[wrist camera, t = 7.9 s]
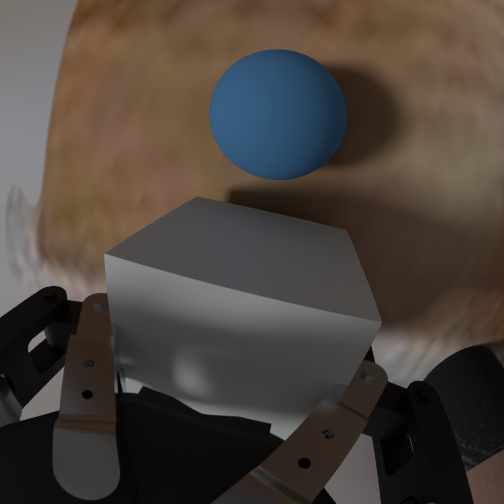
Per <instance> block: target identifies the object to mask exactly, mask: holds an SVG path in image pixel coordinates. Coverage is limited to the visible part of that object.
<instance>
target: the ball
mask: <svg viewBox="0 0 504 504" xmlns="http://www.w3.org/2000/svg"><path fill="white" fill-rule="evenodd" d="M210 124H211V129H212V132H213V135H214V138H215V140H216V142H217V144H218V145H219V147H220V149H221V150H222V151H223V153H224V154H225V155H226V156H227V157H228V158H229V159H230V160H231V161H232V162H233V163H234V164H236V165H237V166H238V167H240V168H241V169H243V170H245V171H246V172H248V173H251V174H253V175H255V176H259V177H262V178H266V179H273V180H286V179H293V178H298V177H301V176H304V175H307V174H309V173H311V172H313V171H315V170H317V169H318V168H320V167H321V166H323V165H324V164H325V163H326V162H327V161H328V160H330V158H331V157H332V156H333V155H334V154H335V153H336V151H337V149H338V148H339V146H340V144H341V142H342V140H343V138H344V134H345V131H346V126H347V107H346V101H345V98H344V95H343V92H342V90H341V88H340V86H339V84H338V83H337V81H336V79H335V78H334V77H333V76H332V74H331V73H330V72H329V71H328V70H327V69H326V68H325V67H324V66H323V65H321V64H320V63H318V62H317V61H316V60H314V59H312V58H310V57H308V56H306V55H303V54H301V53H298V52H294V51H289V50H266V51H260V52H257V53H253V54H251V55H248V56H246V57H244V58H242V59H241V60H239V61H237V62H236V63H235V64H233V65H232V66H231V67H230V68H229V69H228V70H227V71H226V72H225V73H224V74H223V76H222V77H221V78H220V80H219V81H218V83H217V85H216V87H215V89H214V92H213V95H212V98H211V103H210Z"/></svg>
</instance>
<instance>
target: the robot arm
mask: <svg viewBox="0 0 504 504" xmlns="http://www.w3.org/2000/svg"><path fill="white" fill-rule="evenodd" d="M43 330H44V332H45V335H46V339H44V340H43V341H42V342H41V343H40V344H39V345H37V346H36V347H35V348H34V349H33V350H32V351H30V352H28V345H29V342H30V341H31V340H32V339H33V338H34V337H35V336H37V335H38V334H39V333H40V332H41V331H43ZM64 366H65V367H64ZM63 367H64V374H63V381H62V390H61V399H60V410H58V411H55V412H52V413H48V414H45V415H41V416H38V417H34V418H30V419H26V420H22V421H21V420H20V417H21V414H22V409H23V408H24V406H26V404H28V403H29V401H30V400H31V399H32V398H33V397H34V396H35V395H36V394H37V393H38V392H39V391H40V390H41V389H42V388H43V387H44V386H45V385H46V384H47V383H48V382H49V381H50V380H51V379H52V378H53V377H54V376H55V375H56V374H57V373H58V372H59V371H60V370H61V369H62V368H63ZM270 430H271V423H266V422H261V421H257V420H252V419H248V418H244V417H240V416H224V415H210V414H202V413H200V412H198V411H196V410H194V409H193V408H191V407H189V406H187V405H186V404H184V403H182V402H181V401H179V400H177V399H176V398H174V397H172V396H169V395H167V394H164V393H161V392H158V391H156V390H153V389H151V388H148V387H145V386H142V388H141V389H140V391H139V393H129V392H127V389H126V376H125V371H124V369H123V368H121V364H120V358H119V333H118V325H117V324H116V323H113V322H111V320H110V313H109V304H108V295H107V293H96V294H92V295H90V296H88V297H87V298H86V299H85V300H84V301H83V302H78V301H71V300H68V299H67V294H66V291H65V290H64V289H63V288H61V287H58V286H49V287H45V288H43V289H41V290H39V291H38V292H36V293H35V294H33V295H32V296H30V297H29V298H28V299H26V300H25V301H23V302H22V303H20V304H19V305H18V306H16V307H15V308H13V309H12V310H10V311H9V312H8V313H6V314H5V315H3V316H2V317H1V318H0V504H336V503H335V501H334V500H333V499H332V497H331V496H330V495H329V494H328V492H327V491H326V490H325V488H324V486H325V485H326V484H327V482H328V481H329V480H330V478H331V477H332V476H333V474H334V473H335V472H336V470H337V469H338V468H339V466H340V465H341V463H342V462H343V461H344V459H345V458H346V456H347V455H348V453H349V452H350V450H351V449H352V447H353V445H354V444H355V443H356V441H357V439H358V438H359V436H360V435H361V433H363V434H366V435H368V436H371V437H372V440H373V446H374V452H375V459H376V466H377V474H378V481H379V489H380V498H381V504H474V502H473V497H472V493H471V489H470V485H469V482H468V478H467V474H466V471H465V467H464V464H463V461H462V458H461V454H460V451H459V448H458V445H457V442H456V439H455V436H454V434H453V431H452V428H451V425H450V422H449V420H448V417H447V415H446V412H445V409H444V407H443V404H442V402H441V399H440V397H439V394H438V392H437V391H436V390H435V388H434V387H433V386H431V385H430V384H428V383H426V382H423V381H414V382H412V383H411V384H410V385H409V386H408V387H407V389H406V388H403V387H401V386H398V385H395V384H393V383H391V382H389V381H388V376H387V374H386V372H385V370H384V369H383V368H382V367H381V366H379V365H378V364H376V363H375V360H374V355H373V351H372V347H371V346H370V348H369V350H368V352H367V354H366V355H365V357H364V359H363V361H362V363H361V365H360V366H359V368H358V370H357V372H356V373H355V375H354V377H353V379H352V380H351V382H350V384H349V385H342V384H338V385H337V386H336V388H335V389H334V390H333V391H332V393H331V394H330V395H326V396H325V397H324V399H323V400H322V401H321V402H320V403H319V404H318V406H317V407H316V408H315V409H314V410H313V411H312V412H311V413H310V415H309V416H308V417H307V418H306V419H305V420H304V421H303V422H302V423H301V424H300V426H299V427H298V428H297V429H296V430H295V431H294V432H293V433H292V434H291V435H290V436H289V437H288V438H287V439H286V440H283V439H282V438H280V437H278V436H276V435H274V434H272V433H270ZM409 437H410V439H411V442H412V446H413V451H412V447H411V443H410V439H409Z"/></svg>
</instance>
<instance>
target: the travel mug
mask: <svg viewBox="0 0 504 504" xmlns="http://www.w3.org/2000/svg"><path fill="white" fill-rule="evenodd" d="M423 382H426V383H428V384H430V385H431V386H433V387H434V388H435V390H436V391H437V392H438V394H439V397H440V399H441V402H442V404H443V407H444V409H445V412H446V415H447V417H448V420H449V422H450V425H451V428H452V431H453V434H454V436H455V439H456V442H457V445H458V448H459V451H460V454H461V458H462V461H463V464H464V467H465V471H466V474H467V478H468V482H469V485H470V489H471V493H472V497H473V502H474V504H504V368H503V366H502V365H501V363H500V362H499V360H498V359H497V358H496V356H495V355H494V353H493V352H492V351H491V350H490V349H488V348H486V347H482V346H475V347H470V348H467V349H464V350H461V351H459V352H457V353H455V354H453V355H451V356H450V357H448V358H447V359H445V360H444V361H442V362H441V363H440V364H439V365H437V366H436V367H435V368H434V369H433V370H432V371H431V372H430V373H429V374H428V375H427V377H426V378H425V379H424V381H423Z"/></svg>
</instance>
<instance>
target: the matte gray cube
mask: <svg viewBox="0 0 504 504" xmlns="http://www.w3.org/2000/svg"><path fill="white" fill-rule="evenodd" d="M104 256H105V272H106V284H107V295H108V304H109V313H110V320H111V322H113V323H116V324H117V325H118V333H119V358H120V364H121V368H123V369H124V371H125V376H126V389H127V392H129V393H139V391H140V389H141V388H142V386H145V387H148V388H151V389H153V390H156V391H158V392H161V393H164V394H167V395H169V396H172V397H174V398H176V399H177V400H179V401H181V402H182V403H184V404H186V405H187V406H189V407H191V408H193V409H194V410H196V411H198V412H200V413H202V414H210V415H224V416H240V417H244V418H248V419H252V420H257V421H261V422H266V423H271V430H270V433H272V434H274V435H276V436H278V437H280V438H282V439H283V440H286V439H287V438H288V437H289V436H290V435H291V434H292V433H293V432H294V431H295V430H296V429H297V428H298V427H299V426H300V424H301V423H302V422H303V421H304V420H305V419H306V418H307V417H308V416H309V415H310V413H311V412H312V411H313V410H314V409H315V408H316V407H317V406H318V404H319V403H320V402H321V401H322V400H323V399H324V397H325V396H326V395H330V394H331V393H332V391H333V390H334V389H335V388H336V386H337V385H338V384H342V385H349V384H350V382H351V380H352V379H353V377H354V375H355V373H356V372H357V370H358V368H359V366H360V365H361V363H362V361H363V359H364V357H365V355H366V354H367V352H368V350H369V348H370V346H371V344H372V342H373V340H374V338H375V336H376V334H377V332H378V330H379V328H380V326H381V324H382V320H381V317H380V314H379V311H378V308H377V306H376V303H375V300H374V297H373V295H372V292H371V289H370V286H369V284H368V281H367V279H366V276H365V273H364V271H363V268H362V266H361V263H360V261H359V258H358V256H357V253H356V251H355V248H354V246H353V244H352V241H351V239H350V237H349V234H348V232H347V230H344V229H340V228H336V227H332V226H328V225H324V224H320V223H316V222H312V221H307V220H303V219H299V218H295V217H290V216H286V215H282V214H277V213H273V212H268V211H264V210H259V209H255V208H250V207H245V206H240V205H236V204H231V203H226V202H221V201H216V200H211V199H206V198H201V197H195V198H193V199H192V200H190V201H188V202H186V203H185V204H183V205H181V206H180V207H178V208H176V209H174V210H173V211H171V212H169V213H168V214H166V215H164V216H163V217H161V218H159V219H158V220H156V221H155V222H153V223H151V224H150V225H148V226H146V227H145V228H143V229H142V230H140V231H138V232H137V233H135V234H134V235H132V236H131V237H129V238H127V239H126V240H124V241H123V242H121V243H120V244H118V245H117V246H115V247H114V248H112V249H111V250H109V251H108V252H106V253H105V254H104Z"/></svg>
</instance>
